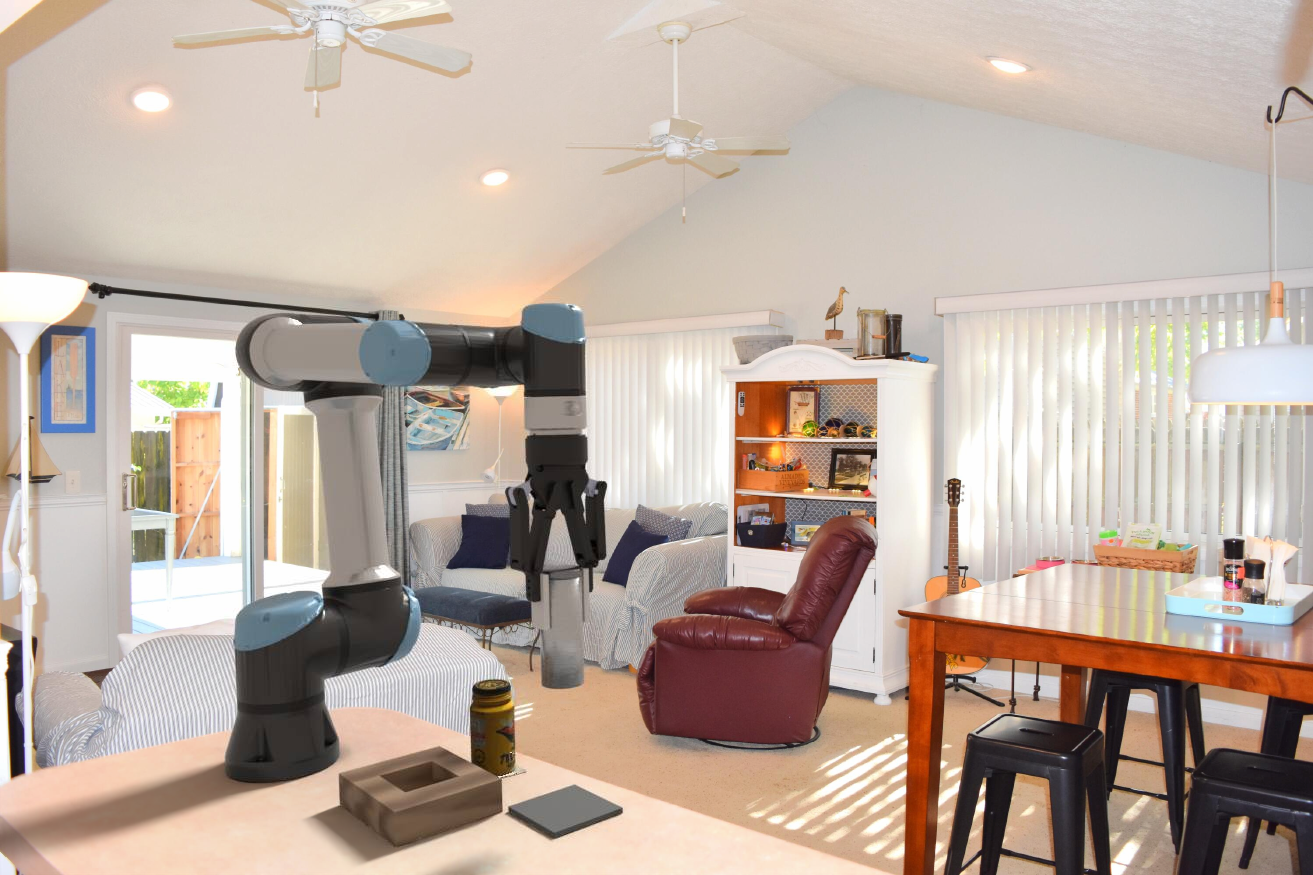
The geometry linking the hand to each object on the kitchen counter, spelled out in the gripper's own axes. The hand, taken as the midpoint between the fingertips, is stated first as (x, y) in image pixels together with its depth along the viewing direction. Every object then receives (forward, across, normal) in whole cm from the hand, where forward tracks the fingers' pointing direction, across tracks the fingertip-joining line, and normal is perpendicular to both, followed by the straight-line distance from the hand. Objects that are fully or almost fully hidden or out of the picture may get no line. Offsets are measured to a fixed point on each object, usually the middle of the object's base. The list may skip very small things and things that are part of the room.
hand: (561, 623), depth 115 cm
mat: (+23, 0, 0) cm, 23 cm away
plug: (+7, 0, 0) cm, 7 cm away
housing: (+23, -12, +14) cm, 30 cm away
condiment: (+23, 0, +19) cm, 30 cm away
